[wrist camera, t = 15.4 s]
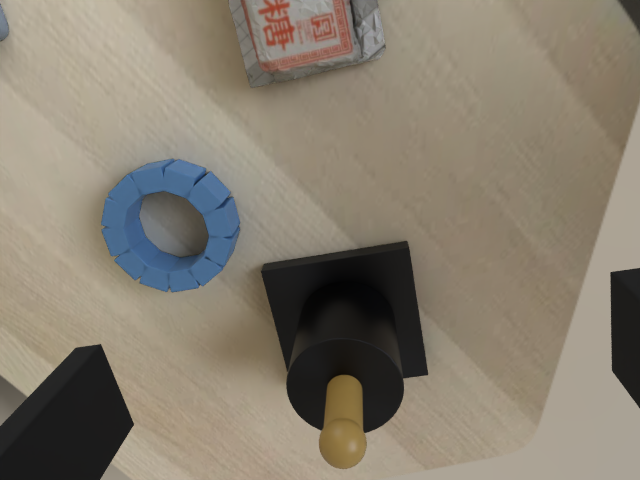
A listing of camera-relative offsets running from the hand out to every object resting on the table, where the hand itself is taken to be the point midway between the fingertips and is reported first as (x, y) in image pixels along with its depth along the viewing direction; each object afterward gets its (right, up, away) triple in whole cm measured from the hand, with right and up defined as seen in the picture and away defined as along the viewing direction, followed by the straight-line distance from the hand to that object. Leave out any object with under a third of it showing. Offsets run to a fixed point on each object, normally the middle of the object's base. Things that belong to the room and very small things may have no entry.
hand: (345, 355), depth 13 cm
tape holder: (+2, -4, +31) cm, 31 cm away
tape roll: (-12, +5, +29) cm, 31 cm away
